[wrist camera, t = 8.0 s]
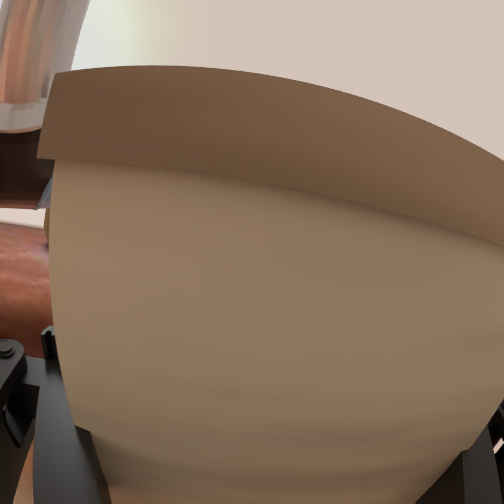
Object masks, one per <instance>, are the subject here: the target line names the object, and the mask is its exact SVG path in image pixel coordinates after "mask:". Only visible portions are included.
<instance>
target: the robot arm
mask: <svg viewBox="0 0 504 504" xmlns="http://www.w3.org/2000/svg"><path fill="white" fill-rule="evenodd" d="M89 3H90V0H3V1H2V5H1V10H0V208H17V209H33V210H38V209H40V208H50V202H51V190H52V180H53V171H54V164H55V159H37V151H38V145H39V139H40V133H41V128H42V123H43V118H44V114H45V109H46V105H47V101H48V97H49V93H50V89H51V86H52V82H53V79H54V75H55V73H59V72H66V71H71V66H72V62H73V58H74V53H75V49H76V45H77V42H78V38H79V34H80V30H81V27H82V24H83V21H84V18H85V15H86V11H87V9H88V6H89ZM40 335H41V341H42V346H43V352H44V357H45V359H42V358H36V357H30V356H25V352H24V348H23V345H22V344H21V343H20V342H18V341H16V340H11V339H2V340H0V504H13V500H14V496H15V493H16V489H17V486H18V482H19V479H20V475H21V472H22V469H23V466H24V463H25V460H26V457H27V454H28V451H29V448H30V446H31V443H32V440H33V438H34V450H33V496H34V504H112V502H111V498H110V493H109V489H108V485H107V482H106V480H105V477H104V474H103V471H102V469H101V466H100V463H99V460H98V457H97V453H96V450H95V447H94V444H93V440H92V437H91V433H90V431H88V430H86V429H83V428H81V427H78V426H76V425H74V421H73V418H72V414H71V411H70V407H69V403H68V400H67V395H66V391H65V387H64V383H63V378H62V373H61V368H60V363H59V358H58V352H57V346H56V339H55V332H54V325H52V326H49V327H47V328H46V329H44V330H43V331H42V333H41V334H40ZM501 438H502V439H503V441H504V399H503V400H502V402H501V404H500V405H499V407H498V408H497V410H496V412H495V413H494V415H493V416H492V418H491V419H490V421H489V422H488V424H487V425H486V427H485V428H484V429H483V431H482V432H481V434H480V435H479V436H478V438H477V439H476V440H475V442H474V443H473V444H472V446H471V447H470V448H469V449H467V450H464V451H461V453H460V454H459V455H458V456H457V458H456V459H455V460H454V461H453V462H452V464H451V465H450V466H449V467H448V468H447V469H446V471H445V472H444V473H443V474H442V475H441V476H440V477H439V478H438V479H437V481H436V482H435V483H434V484H433V485H432V486H431V487H430V488H429V489H428V490H427V491H426V492H425V493H424V494H423V495H422V496H421V497H420V498H419V499H418V500H417V501H416V503H415V504H504V444H503V445H502V446H501V447H500V449H499V450H498V451H497V452H496V453H495V454H494V451H493V448H494V447H495V445H496V444H497V443H498V441H499V440H500V439H501Z"/></svg>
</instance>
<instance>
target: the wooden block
mask: <svg viewBox="0 0 504 504" xmlns="http://www.w3.org/2000/svg"><path fill="white" fill-rule="evenodd" d="M37 159H55V164H54V171H53V180H52V190H51V202H50V219H49V276H50V293H51V305H52V315H53V324H54V332H55V339H56V346H57V352H58V358H59V363H60V368H61V373H62V378H63V383H64V387H65V391H66V395H67V400H68V403H69V407H70V411H71V414H72V418H73V421H74V425H76V426H78V427H81V428H83V429H86V430H88V431H90V433H91V437H92V440H93V444H94V447H95V450H96V453H97V457H98V460H99V463H100V466H101V469H102V471H103V474H104V477H105V480H106V482H107V485H108V489H109V493H110V498H111V502H112V504H415V503H416V501H417V500H418V499H419V498H420V497H421V496H422V495H423V494H424V493H425V492H426V491H427V490H428V489H429V488H430V487H431V486H432V485H433V484H434V483H435V482H436V481H437V479H438V478H439V477H440V476H441V475H442V474H443V473H444V472H445V471H446V469H447V468H448V467H449V466H450V465H451V464H452V462H453V461H454V460H455V459H456V458H457V456H458V455H459V454H460V453H461V451H464V450H467V449H469V448H470V447H471V446H472V444H473V443H474V442H475V440H476V439H477V438H478V436H479V435H480V434H481V432H482V431H483V429H484V428H485V427H486V425H487V424H488V422H489V421H490V419H491V418H492V416H493V415H494V413H495V412H496V410H497V408H498V407H499V405H500V404H501V402H502V400H503V399H504V161H503V160H501V159H500V158H498V157H496V156H495V155H493V154H491V153H489V152H488V151H486V150H484V149H482V148H481V147H479V146H477V145H475V144H473V143H471V142H469V141H467V140H465V139H463V138H461V137H459V136H457V135H455V134H453V133H451V132H449V131H447V130H445V129H443V128H440V127H438V126H436V125H434V124H432V123H429V122H427V121H425V120H422V119H420V118H417V117H415V116H412V115H410V114H407V113H405V112H402V111H399V110H397V109H394V108H392V107H389V106H386V105H383V104H380V103H377V102H374V101H371V100H368V99H365V98H362V97H358V96H355V95H352V94H348V93H345V92H341V91H338V90H334V89H330V88H326V87H322V86H318V85H314V84H310V83H306V82H301V81H296V80H291V79H286V78H281V77H276V76H270V75H264V74H258V73H251V72H244V71H235V70H226V69H216V68H204V67H190V66H155V65H154V66H117V67H104V68H92V69H82V70H75V71H66V72H59V73H55V75H54V79H53V82H52V86H51V89H50V93H49V97H48V101H47V105H46V109H45V114H44V118H43V123H42V128H41V133H40V139H39V145H38V151H37Z"/></svg>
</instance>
